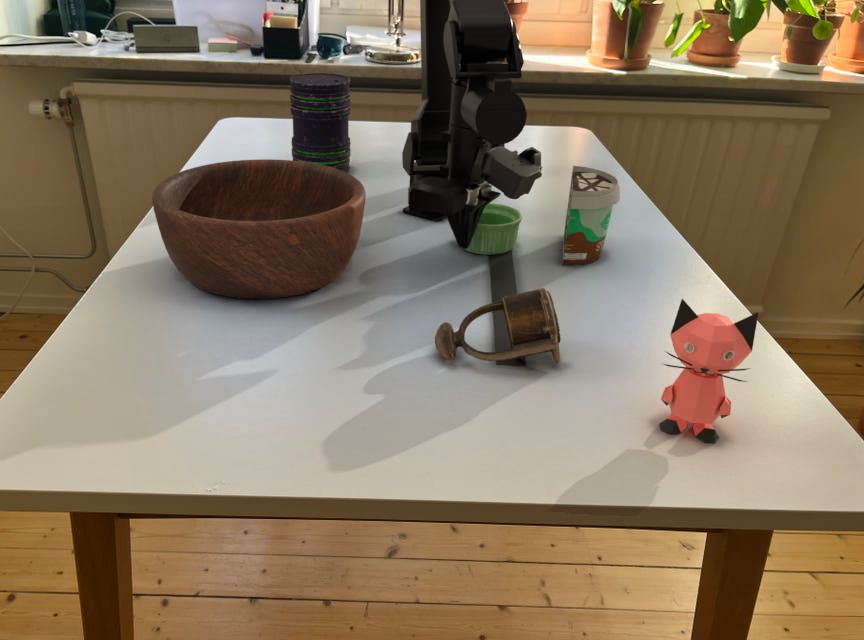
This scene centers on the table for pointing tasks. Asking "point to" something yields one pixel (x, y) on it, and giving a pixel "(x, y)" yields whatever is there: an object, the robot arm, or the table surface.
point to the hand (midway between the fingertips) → (463, 247)
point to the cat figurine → (704, 368)
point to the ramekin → (496, 230)
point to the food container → (588, 214)
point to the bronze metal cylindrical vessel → (510, 328)
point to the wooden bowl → (260, 225)
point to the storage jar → (321, 119)
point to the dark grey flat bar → (501, 287)
